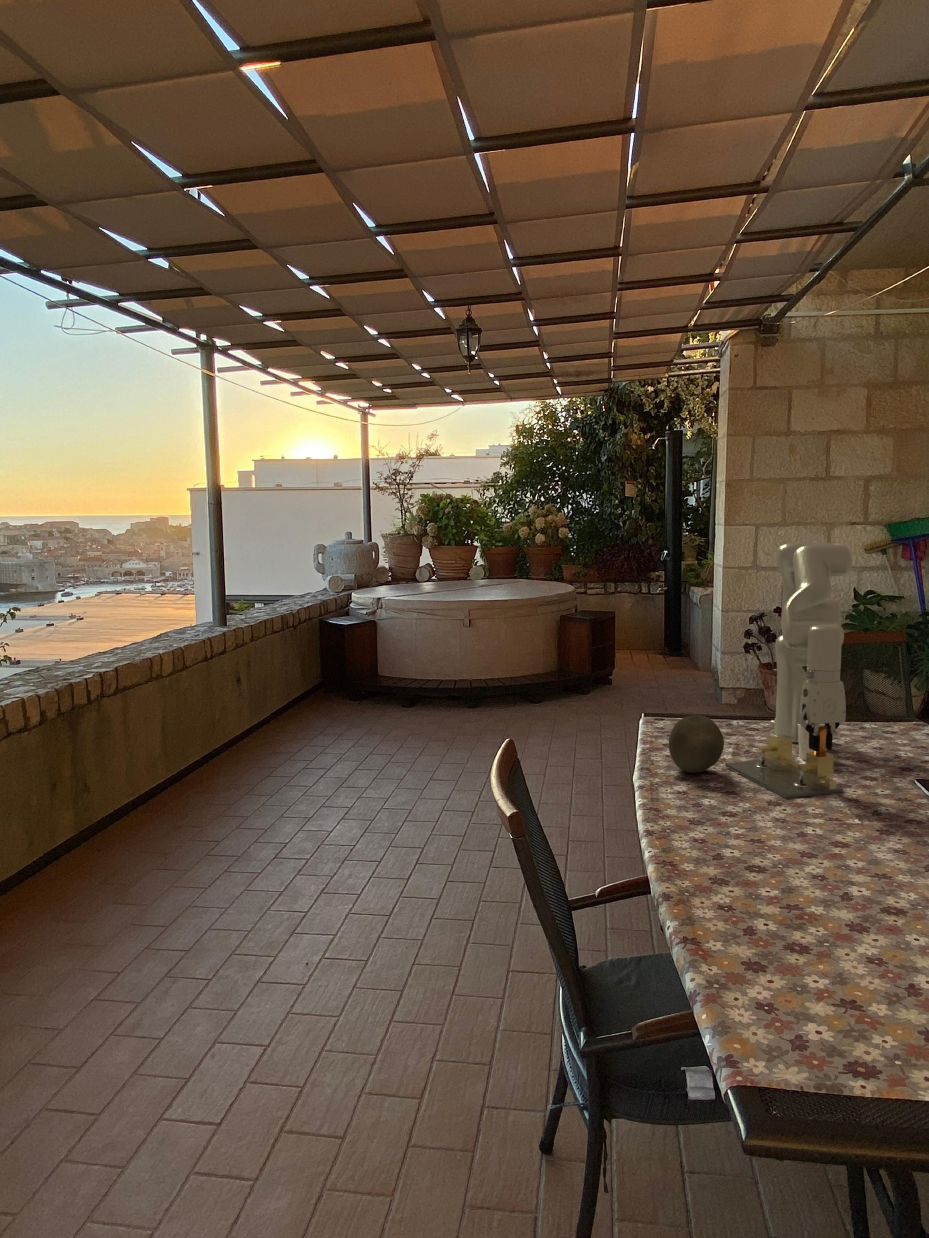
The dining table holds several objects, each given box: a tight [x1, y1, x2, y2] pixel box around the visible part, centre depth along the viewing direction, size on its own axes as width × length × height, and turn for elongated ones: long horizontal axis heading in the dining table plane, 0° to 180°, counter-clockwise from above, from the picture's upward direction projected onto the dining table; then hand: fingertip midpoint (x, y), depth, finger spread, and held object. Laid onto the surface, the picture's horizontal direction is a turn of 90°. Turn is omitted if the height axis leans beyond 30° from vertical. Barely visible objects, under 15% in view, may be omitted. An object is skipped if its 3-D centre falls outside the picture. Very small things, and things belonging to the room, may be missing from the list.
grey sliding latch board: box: [724, 736, 844, 799], centre depth 212 cm, size 26×16×8 cm, turn 15°
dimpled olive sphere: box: [668, 715, 725, 774], centre depth 218 cm, size 14×14×15 cm
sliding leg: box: [797, 725, 835, 783], centre depth 204 cm, size 4×8×14 cm, turn 105°
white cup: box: [798, 720, 827, 761], centre depth 229 cm, size 8×8×10 cm
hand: (820, 748), depth 205 cm, fingers closed on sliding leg, 2 cm apart
